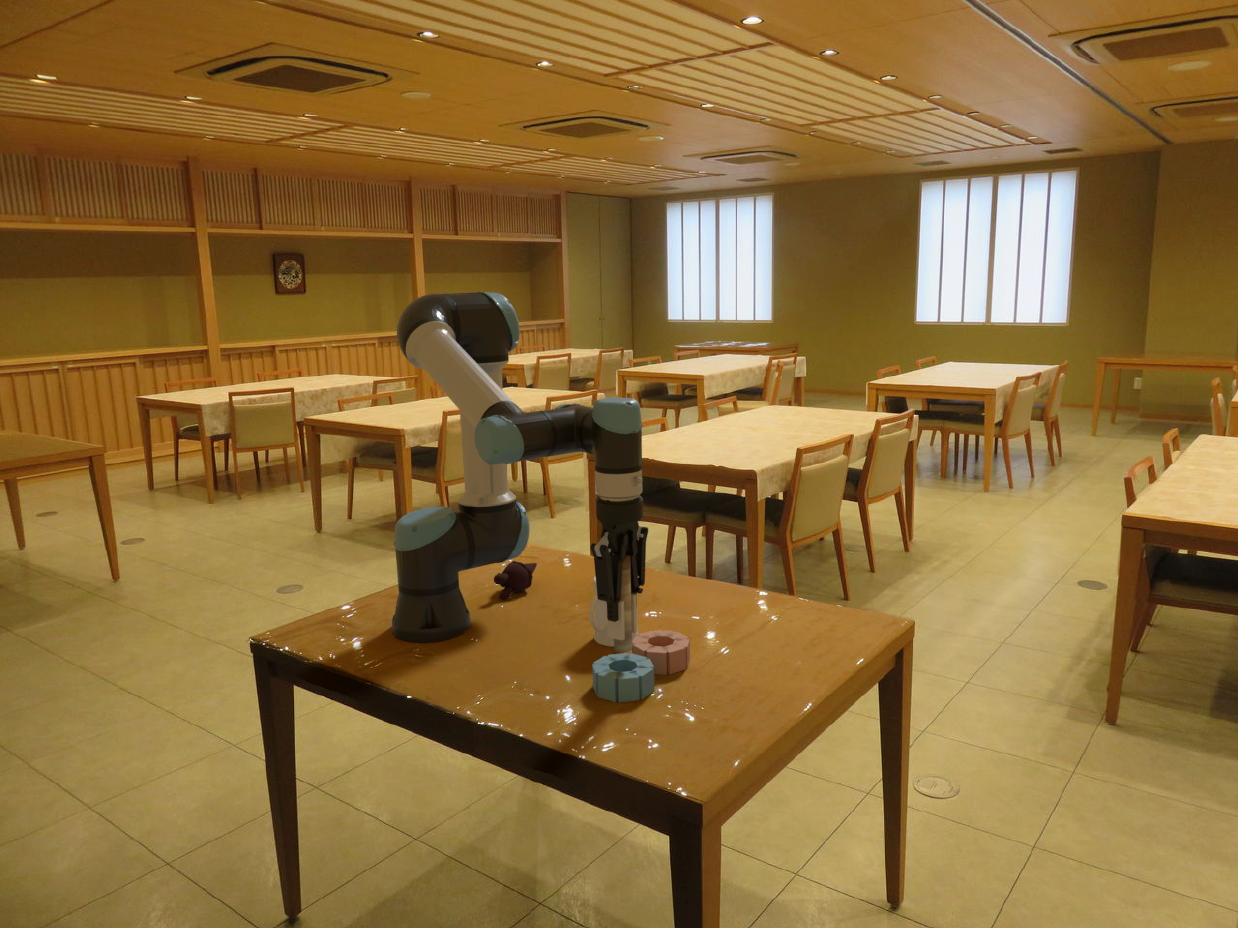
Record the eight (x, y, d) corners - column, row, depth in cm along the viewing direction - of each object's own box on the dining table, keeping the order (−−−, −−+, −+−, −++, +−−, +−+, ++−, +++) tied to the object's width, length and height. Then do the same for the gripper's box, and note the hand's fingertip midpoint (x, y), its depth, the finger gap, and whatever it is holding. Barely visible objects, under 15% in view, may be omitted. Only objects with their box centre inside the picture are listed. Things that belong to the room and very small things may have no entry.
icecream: (518, 551, 206) (479, 576, 193) (544, 547, 202) (506, 572, 189) (527, 579, 207) (489, 606, 194) (553, 576, 203) (516, 603, 190)
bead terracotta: (628, 672, 157) (628, 650, 156) (639, 649, 166) (638, 628, 165) (684, 676, 155) (684, 654, 154) (692, 652, 164) (692, 632, 163)
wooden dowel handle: (610, 649, 149) (607, 556, 145) (620, 643, 151) (618, 551, 148) (625, 653, 147) (623, 559, 144) (636, 647, 149) (633, 554, 146)
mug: (605, 656, 163) (604, 593, 161) (572, 644, 169) (570, 583, 166) (648, 636, 172) (647, 576, 169) (615, 625, 177) (613, 567, 175)
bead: (582, 692, 149) (581, 669, 149) (615, 670, 157) (615, 649, 156) (631, 707, 144) (631, 683, 143) (663, 683, 152) (663, 661, 151)
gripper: (610, 509, 135) (614, 656, 140) (665, 488, 148) (667, 623, 153) (570, 503, 139) (575, 646, 144) (627, 483, 152) (630, 614, 157)
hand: (622, 634), depth 148 cm, fingers closed on wooden dowel handle, 3 cm apart
